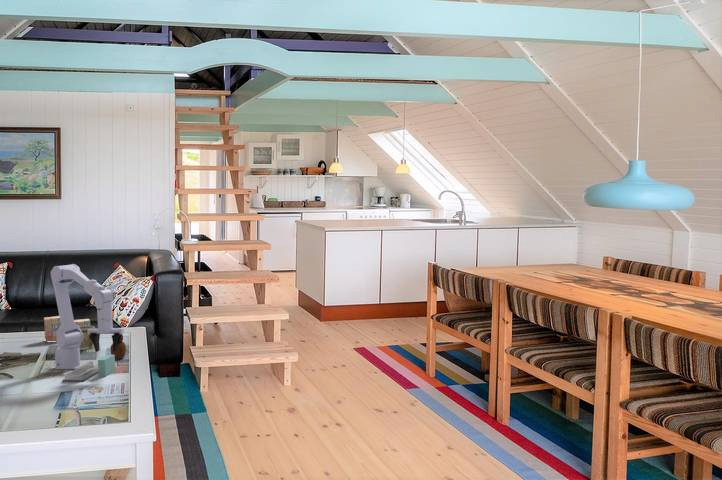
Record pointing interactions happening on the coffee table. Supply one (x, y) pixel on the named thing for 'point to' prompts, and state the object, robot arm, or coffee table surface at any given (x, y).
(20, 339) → the coffee table surface
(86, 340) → the ceramic cup
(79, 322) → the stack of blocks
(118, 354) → the wooden figurine
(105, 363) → the door panel
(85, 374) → the track
